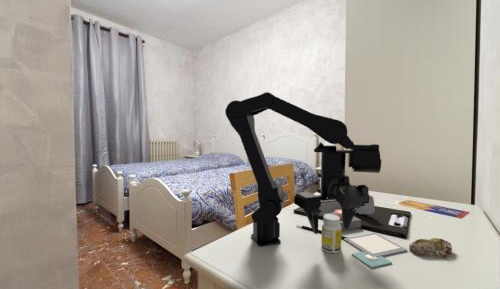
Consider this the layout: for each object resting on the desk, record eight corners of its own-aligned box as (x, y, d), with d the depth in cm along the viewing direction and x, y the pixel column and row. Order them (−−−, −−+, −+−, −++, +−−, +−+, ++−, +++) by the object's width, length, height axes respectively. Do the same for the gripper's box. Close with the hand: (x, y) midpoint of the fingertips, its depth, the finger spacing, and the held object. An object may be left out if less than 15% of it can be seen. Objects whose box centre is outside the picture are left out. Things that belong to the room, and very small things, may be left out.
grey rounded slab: (375, 218, 83) (376, 195, 82) (368, 219, 82) (369, 196, 81) (345, 205, 96) (345, 185, 96) (339, 206, 95) (339, 186, 95)
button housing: (339, 231, 72) (339, 223, 72) (323, 221, 80) (323, 213, 80) (360, 227, 75) (361, 219, 75) (343, 218, 83) (343, 211, 82)
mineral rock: (429, 232, 67) (459, 237, 59) (433, 249, 66) (464, 256, 58) (396, 237, 65) (422, 243, 57) (399, 255, 64) (426, 263, 56)
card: (371, 268, 54) (371, 266, 53) (351, 254, 59) (351, 253, 59) (391, 263, 55) (391, 261, 55) (371, 250, 61) (371, 249, 61)
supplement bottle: (338, 244, 64) (339, 213, 63) (343, 254, 59) (344, 221, 59) (319, 244, 65) (320, 213, 64) (323, 253, 60) (324, 220, 59)
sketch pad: (372, 258, 57) (372, 256, 57) (343, 239, 67) (343, 238, 67) (407, 251, 61) (407, 249, 61) (375, 234, 70) (375, 232, 70)
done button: (340, 222, 75) (340, 215, 74) (331, 217, 79) (331, 210, 79) (352, 220, 76) (352, 213, 76) (342, 215, 80) (342, 209, 80)
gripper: (320, 179, 50) (318, 252, 51) (389, 174, 56) (386, 239, 57) (293, 170, 60) (292, 231, 62) (354, 166, 66) (352, 222, 68)
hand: (331, 231), depth 62 cm, fingers open, 9 cm apart
